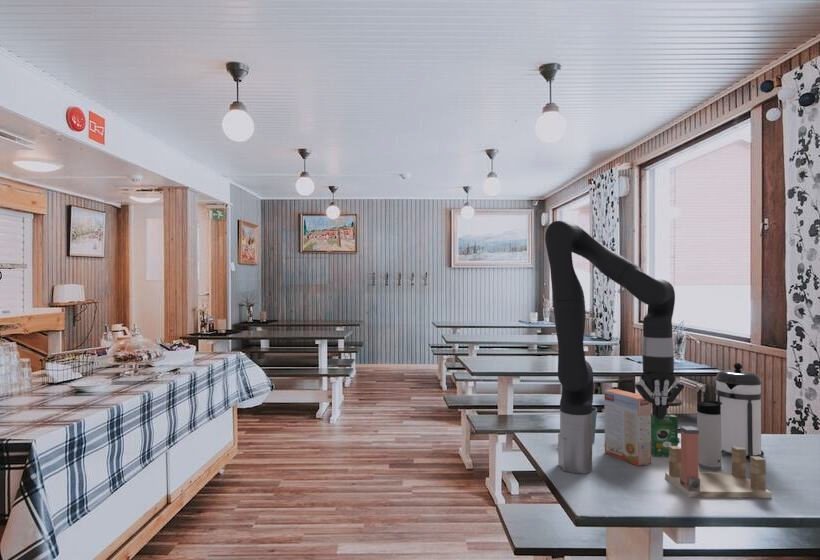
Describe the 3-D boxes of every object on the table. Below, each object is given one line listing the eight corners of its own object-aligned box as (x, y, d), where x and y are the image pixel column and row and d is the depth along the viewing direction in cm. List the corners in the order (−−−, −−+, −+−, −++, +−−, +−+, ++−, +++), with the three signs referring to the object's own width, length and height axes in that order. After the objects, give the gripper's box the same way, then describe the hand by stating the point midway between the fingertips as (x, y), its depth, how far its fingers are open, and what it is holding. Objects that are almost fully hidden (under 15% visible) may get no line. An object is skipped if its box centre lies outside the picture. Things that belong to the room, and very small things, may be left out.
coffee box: (673, 453, 161) (673, 413, 161) (678, 456, 158) (678, 416, 158) (649, 453, 161) (649, 413, 161) (654, 457, 158) (653, 416, 158)
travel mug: (726, 471, 145) (725, 404, 145) (702, 470, 146) (701, 403, 147) (717, 464, 151) (717, 399, 151) (694, 462, 153) (693, 398, 153)
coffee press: (781, 464, 150) (780, 367, 151) (724, 462, 153) (723, 366, 153) (751, 446, 168) (750, 358, 168) (700, 444, 170) (700, 358, 170)
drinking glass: (568, 435, 181) (568, 402, 181) (597, 438, 177) (597, 405, 177) (566, 443, 171) (566, 409, 171) (597, 447, 167) (597, 412, 168)
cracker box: (652, 464, 151) (652, 396, 151) (637, 467, 149) (637, 398, 149) (617, 450, 164) (617, 387, 164) (604, 452, 162) (603, 389, 162)
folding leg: (686, 484, 129) (686, 429, 129) (680, 480, 132) (680, 426, 132) (699, 485, 129) (698, 430, 129) (692, 480, 132) (692, 426, 132)
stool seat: (690, 497, 127) (690, 461, 128) (665, 477, 141) (664, 444, 141) (772, 498, 127) (772, 462, 127) (739, 478, 140) (739, 445, 140)
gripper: (638, 355, 128) (640, 422, 127) (690, 355, 127) (691, 422, 127) (627, 352, 135) (628, 414, 135) (675, 351, 135) (676, 414, 134)
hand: (659, 418), depth 131 cm, fingers closed
